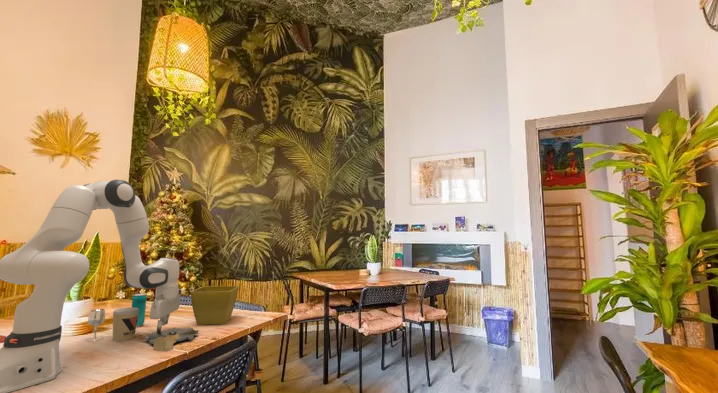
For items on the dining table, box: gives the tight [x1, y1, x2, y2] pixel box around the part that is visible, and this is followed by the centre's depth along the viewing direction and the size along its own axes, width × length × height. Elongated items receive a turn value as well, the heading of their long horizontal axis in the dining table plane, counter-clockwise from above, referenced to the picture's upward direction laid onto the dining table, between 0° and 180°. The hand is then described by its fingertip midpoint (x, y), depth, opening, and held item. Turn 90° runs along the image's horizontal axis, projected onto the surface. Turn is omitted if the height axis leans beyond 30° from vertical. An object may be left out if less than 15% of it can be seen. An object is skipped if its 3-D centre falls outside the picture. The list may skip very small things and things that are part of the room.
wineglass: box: [87, 308, 106, 342], centre depth 140 cm, size 6×6×12 cm
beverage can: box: [131, 293, 147, 328], centre depth 161 cm, size 6×6×15 cm
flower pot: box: [190, 285, 240, 326], centre depth 170 cm, size 19×19×17 cm
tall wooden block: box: [152, 337, 174, 352], centre depth 129 cm, size 4×6×4 cm, turn 76°
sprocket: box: [144, 319, 199, 345], centre depth 141 cm, size 20×20×6 cm
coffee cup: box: [112, 306, 139, 342], centre depth 142 cm, size 9×9×12 cm
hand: (164, 324), depth 148 cm, fingers closed
